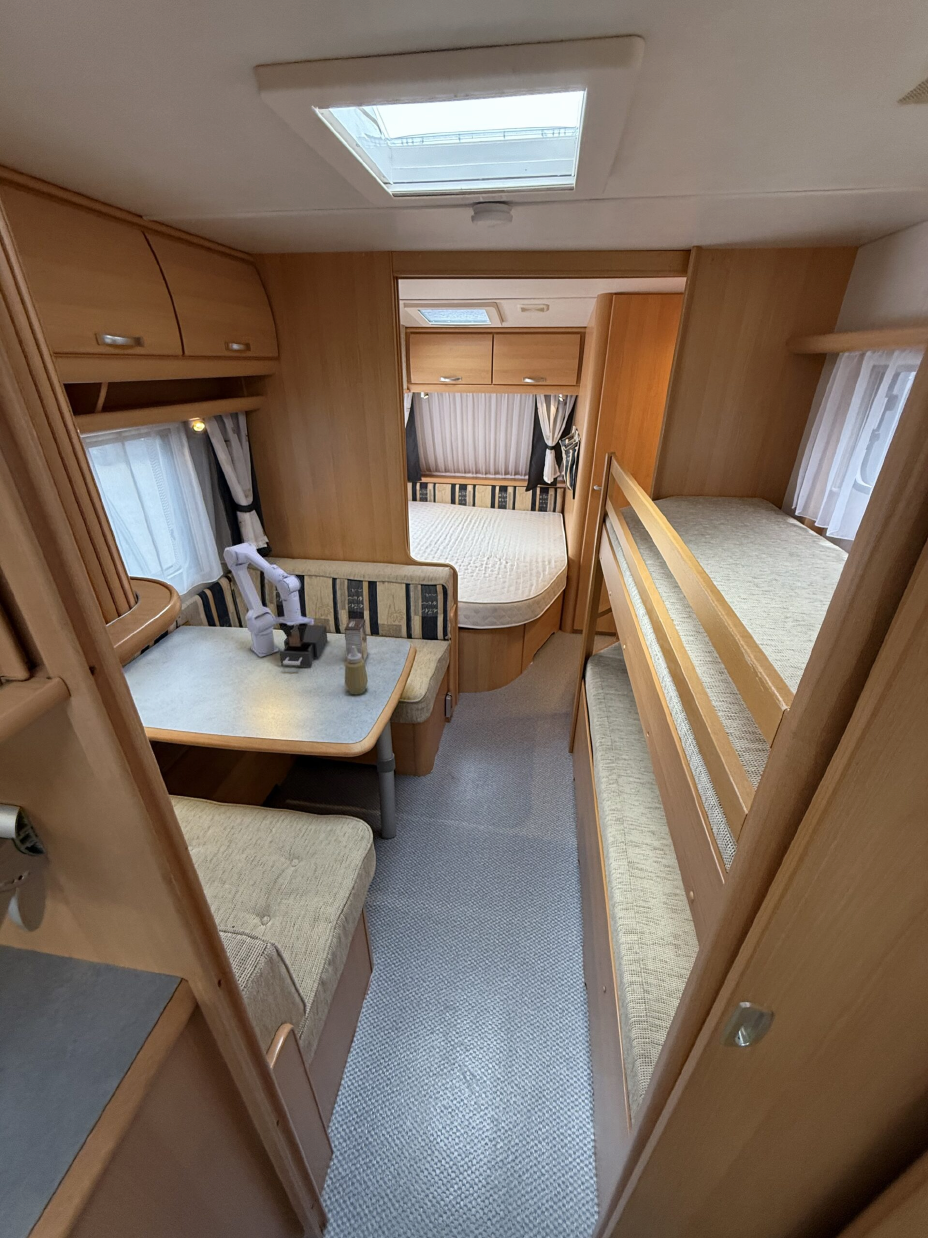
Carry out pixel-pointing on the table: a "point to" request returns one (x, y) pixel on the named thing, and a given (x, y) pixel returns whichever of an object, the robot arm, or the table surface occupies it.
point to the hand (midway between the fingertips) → (296, 640)
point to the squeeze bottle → (355, 673)
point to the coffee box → (356, 637)
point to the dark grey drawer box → (313, 637)
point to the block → (295, 639)
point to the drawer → (297, 655)
